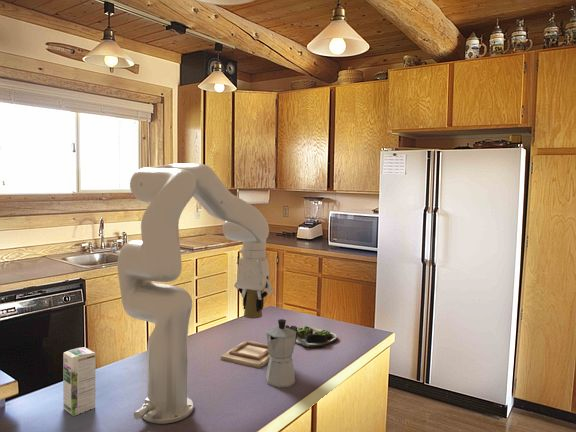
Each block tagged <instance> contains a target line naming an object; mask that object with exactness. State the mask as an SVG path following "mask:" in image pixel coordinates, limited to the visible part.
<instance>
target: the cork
mask: <svg viewBox="0 0 576 432" xmlns="http://www.w3.org/2000/svg"><path fill="white" fill-rule="evenodd" d="M246 292H247V298H246V305H245V309H244V311H243V313H244V314H243V317H244V318H246V319H252V320H253V319H259V318H262V317H263V311H262V310H263V309H262V310H261V309H260V311H259V312H257V307H256V300H257V299H258V294H257V291H254V290H249V289H246Z"/></svg>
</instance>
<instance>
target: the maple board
mask: <svg viewBox="0 0 576 432" xmlns="http://www.w3.org/2000/svg"><path fill="white" fill-rule="evenodd" d="M270 357H271V356H270V355H269V351H268V343H267V344H266V343H261V342H257V341H252V340H247V339H246V340H244V341H243V342H241V343H239V344H238V345H236V346H234V347H233V348H231V349H229V350H228V351H226V352H225V353H223V354H222V355H220V360H221V361H225V362H231V363H235V364H239V365H243V366H248V367H253V368H257V369H260V368H261V367H263V366H264V365H265V364H267V363H269V358H270Z"/></svg>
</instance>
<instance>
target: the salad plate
mask: <svg viewBox="0 0 576 432" xmlns="http://www.w3.org/2000/svg"><path fill="white" fill-rule="evenodd" d="M296 327H297V330H298V335H297V339H296V342H295V344H297V345H300V346H301V347H304V346H305V347H304V348H308V347H309V348H308V349H321V348H324V347H328V346H330V345H332V344H334V343H335V342H336V341H338V335H337V334H336V333H334V332H330V331H328V330H325V329H321V328H317V327H311V326H310V327H309V326H307V325H304V326H301V327H299V326H296ZM313 332H315V333H313ZM328 340H329V341H328Z"/></svg>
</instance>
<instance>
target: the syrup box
mask: <svg viewBox="0 0 576 432" xmlns="http://www.w3.org/2000/svg"><path fill="white" fill-rule="evenodd" d="M62 356H63V358H62V359H63V364H62V365H63V367H62V368H63V369H62V371H63V378H62V379H63V380H62V381H63V389H62V391H63V394H62V395H63V399H62V400H63V404H62V405H63V407H62V408H63V409H64V410H65V411H66V412H68V413H69V414H70V415H71V416H73V417H75V416H78V415H80V413H81V414H83V413H86V412H88V411H90V409H91V410H92V409H95V408H96V352H95V351H92V350H91V349H90V348H87V347H76V348H73V349H69V350H67V351H64V352H63V355H62ZM85 411H86V412H85Z"/></svg>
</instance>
